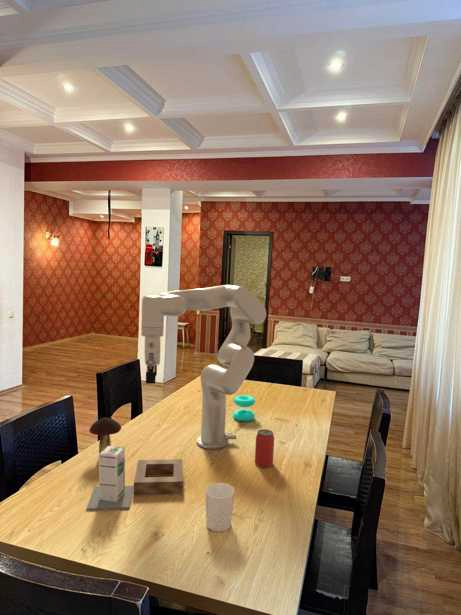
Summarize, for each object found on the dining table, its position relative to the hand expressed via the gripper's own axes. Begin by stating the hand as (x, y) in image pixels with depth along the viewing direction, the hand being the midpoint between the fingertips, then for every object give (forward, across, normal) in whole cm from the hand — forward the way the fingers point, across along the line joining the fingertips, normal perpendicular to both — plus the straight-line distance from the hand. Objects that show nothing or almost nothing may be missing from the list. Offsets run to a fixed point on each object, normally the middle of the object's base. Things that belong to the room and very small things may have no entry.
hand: (151, 379), depth 150 cm
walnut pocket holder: (+30, -14, -4) cm, 34 cm away
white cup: (+31, -38, -21) cm, 53 cm away
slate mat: (+30, -23, +10) cm, 39 cm away
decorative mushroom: (+31, +4, +16) cm, 35 cm away
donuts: (+31, +43, -41) cm, 67 cm away
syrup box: (+30, -23, +10) cm, 39 cm away
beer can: (+31, -3, -41) cm, 51 cm away
